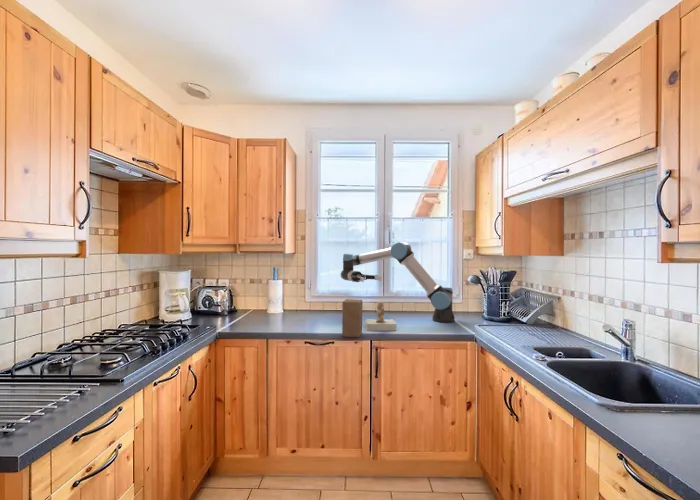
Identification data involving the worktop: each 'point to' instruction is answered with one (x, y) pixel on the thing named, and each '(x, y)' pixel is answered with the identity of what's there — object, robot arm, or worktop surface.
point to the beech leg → (380, 312)
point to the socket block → (380, 325)
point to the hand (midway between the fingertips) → (372, 279)
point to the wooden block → (352, 318)
